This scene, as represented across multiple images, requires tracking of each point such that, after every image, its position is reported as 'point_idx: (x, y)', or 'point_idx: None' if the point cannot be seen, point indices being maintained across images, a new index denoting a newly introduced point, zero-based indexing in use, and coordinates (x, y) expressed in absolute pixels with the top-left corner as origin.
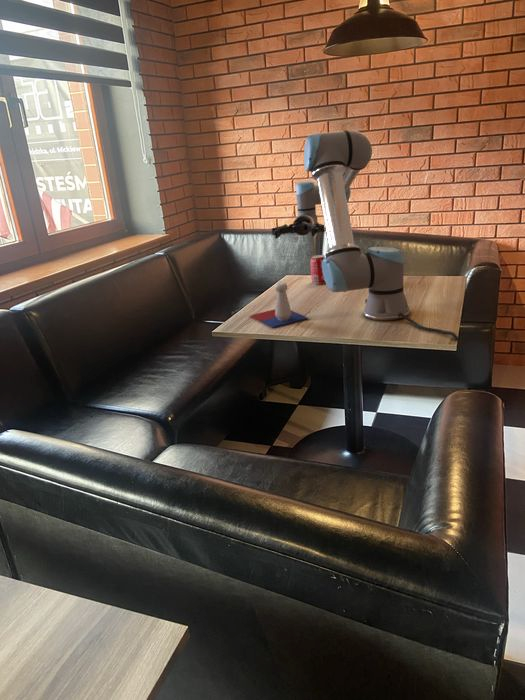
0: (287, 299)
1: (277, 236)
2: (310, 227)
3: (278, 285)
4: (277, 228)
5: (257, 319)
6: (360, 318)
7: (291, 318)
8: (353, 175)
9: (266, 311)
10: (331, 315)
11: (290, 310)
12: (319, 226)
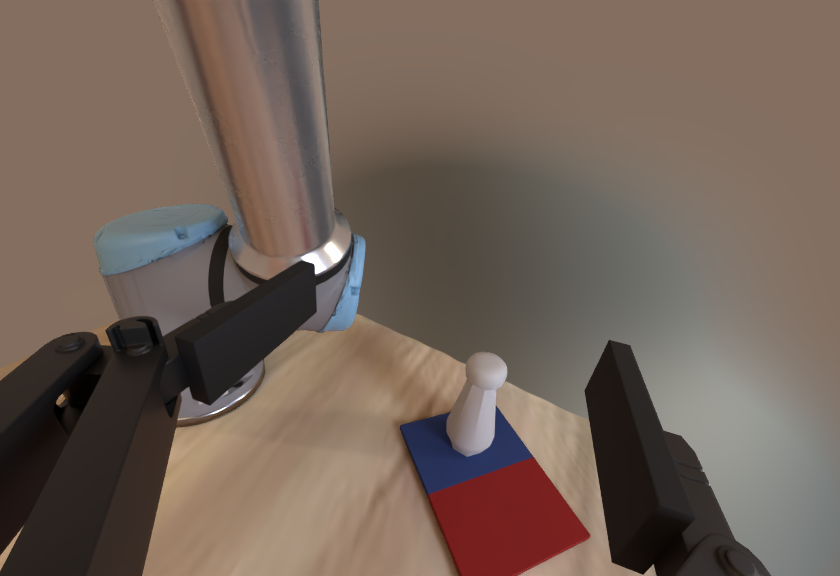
0: (461, 392)
1: (591, 387)
2: (134, 493)
3: (494, 354)
4: (725, 548)
5: (550, 482)
6: (276, 382)
7: (444, 437)
8: None
9: (537, 560)
10: (326, 431)
11: (449, 414)
12: (52, 410)
